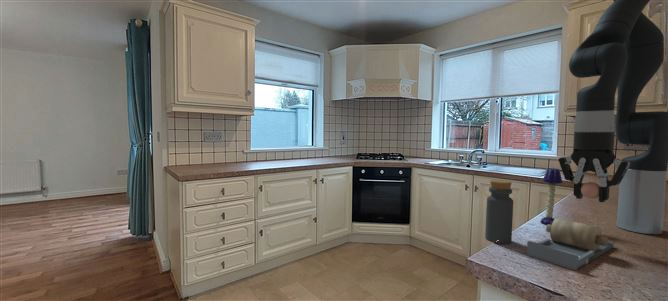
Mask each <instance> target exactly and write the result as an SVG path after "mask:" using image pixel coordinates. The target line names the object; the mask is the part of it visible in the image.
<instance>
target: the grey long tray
mask: <svg viewBox="0 0 668 301" xmlns="http://www.w3.org/2000/svg"><path fill="white" fill-rule="evenodd" d="M614 244H615V243H614V242H610V241H608V243H607V246H602V245H600V247H599V249H598V250H597V251H595V252H594V251H592V250H590V251H589V250H585V249H581V248H577V247H574V246H570V245H566V244H562V243H558V242H555V241H552V239H551V238H550V239H549V238H545V239H542V240H540V241H539V242H534V241H531V240H528V241H527V244H526V245H527V246H526V256H528V257H532V258H534V259H537V260H538V259H539V260H541V261H545V262H547V263H551V264H553V265H554V264H555V265H556V266H560V267H563V268H567V269H570V270H573V271H578V270H579V269H581V268H582V267H584V266H586V265H587V264H589V263H590V262H592V261H593V260H595V259H597V258H598V257H600V256H601V255H603V254H605V253H606V252H608V251H610V250H611V249H612V248H614Z"/></svg>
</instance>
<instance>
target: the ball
mask: <svg viewBox="0 0 668 301" xmlns="http://www.w3.org/2000/svg"><path fill="white" fill-rule="evenodd" d="M582 184H583V185H582V186H581V193H582V195H583V197H585V198H587V199H591V200H592V199H596V198H599V187H601V185H599V184H598V183H595V182H592V181H589V182H585V183H582Z"/></svg>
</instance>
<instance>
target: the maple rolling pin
mask: <svg viewBox="0 0 668 301" xmlns="http://www.w3.org/2000/svg"><path fill="white" fill-rule="evenodd" d="M554 219H555V220H554V221H553V223H552V225H551V224H548V225H546V228H545V230H546V233H549V235H550V240H552V241H555V242H558V243H562V244H566V245H570V246H574V247H577V248H581V249H585V250H589V251H590V250H592V251H594V252H595V251H597V250H598V249H599V247H600V245H602V246H607V243H608V242H609V240H608V239H609V238H608V237H607V236H603V235H602V229H601V227H600V226H598V227H596V226H597V225H595V226H591V225H592V224H590V225H587V224H588V223H585V224H582V223H583V222H582V223H581V222H576V221H572V220H567V219H562V218H558V217H557V218H554Z"/></svg>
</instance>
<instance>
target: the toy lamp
mask: <svg viewBox="0 0 668 301" xmlns="http://www.w3.org/2000/svg"><path fill="white" fill-rule="evenodd" d="M542 182H544V183H548V193H547V196H548V197H547V199H546V201H547V203H546V213H545V217H542V218H541V219H540V223H541V224H542V225H546V226H547V225H548V224H551V225H552V223H553V221H554V220H555V219H556V218H553V216H554V214H553V213H554V207H555V204H554V203H555V197H556V193H555V192H556V186H557V184H558V185H559V184H560V185H561V184H563V179H562V174H561V171H560V168H553V167H552V168H551V167H550V168H549V167H548V168H547V169H546V171H545V174H544V176H543V178H542Z"/></svg>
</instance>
